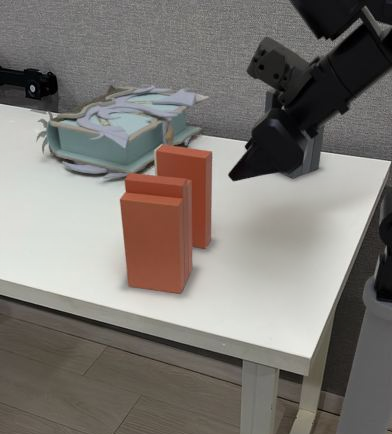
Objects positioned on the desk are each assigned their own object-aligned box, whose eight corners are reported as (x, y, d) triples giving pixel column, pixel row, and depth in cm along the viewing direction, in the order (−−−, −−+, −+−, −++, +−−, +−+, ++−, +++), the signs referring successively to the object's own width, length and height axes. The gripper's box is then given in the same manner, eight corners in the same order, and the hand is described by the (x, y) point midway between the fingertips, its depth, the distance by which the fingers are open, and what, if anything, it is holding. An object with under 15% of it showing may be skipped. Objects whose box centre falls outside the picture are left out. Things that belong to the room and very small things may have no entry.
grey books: (318, 169, 99) (330, 84, 90) (292, 178, 96) (302, 92, 87) (286, 155, 104) (294, 74, 95) (260, 164, 101) (266, 81, 92)
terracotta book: (211, 240, 80) (212, 151, 72) (205, 249, 78) (205, 158, 70) (165, 232, 82) (161, 143, 74) (158, 240, 80) (153, 150, 72)
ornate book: (122, 121, 121) (26, 166, 100) (118, 73, 115) (15, 110, 94) (214, 139, 112) (130, 192, 92) (216, 88, 106) (127, 132, 86)
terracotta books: (192, 269, 75) (191, 171, 66) (181, 294, 70) (178, 192, 61) (142, 262, 76) (135, 165, 67) (128, 286, 72) (118, 186, 63)
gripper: (309, -4, 65) (214, 89, 74) (282, 31, 51) (171, 139, 61) (365, 75, 68) (268, 154, 78) (354, 126, 55) (238, 214, 64)
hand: (239, 163), depth 70 cm, fingers open, 9 cm apart
